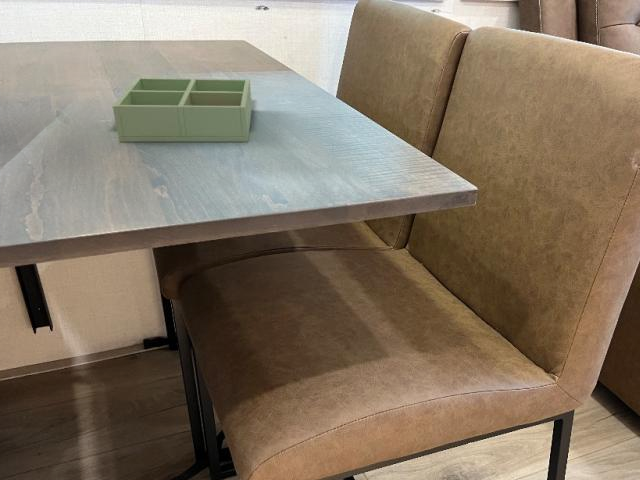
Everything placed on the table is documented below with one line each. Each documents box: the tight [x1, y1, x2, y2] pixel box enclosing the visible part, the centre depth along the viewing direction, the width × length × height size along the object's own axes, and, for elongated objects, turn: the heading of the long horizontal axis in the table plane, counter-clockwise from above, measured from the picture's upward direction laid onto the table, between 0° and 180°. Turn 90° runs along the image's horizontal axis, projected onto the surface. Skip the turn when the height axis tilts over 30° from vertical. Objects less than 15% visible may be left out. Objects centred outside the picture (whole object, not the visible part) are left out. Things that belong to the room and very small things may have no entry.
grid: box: [112, 77, 253, 143], centre depth 80 cm, size 15×15×4 cm
